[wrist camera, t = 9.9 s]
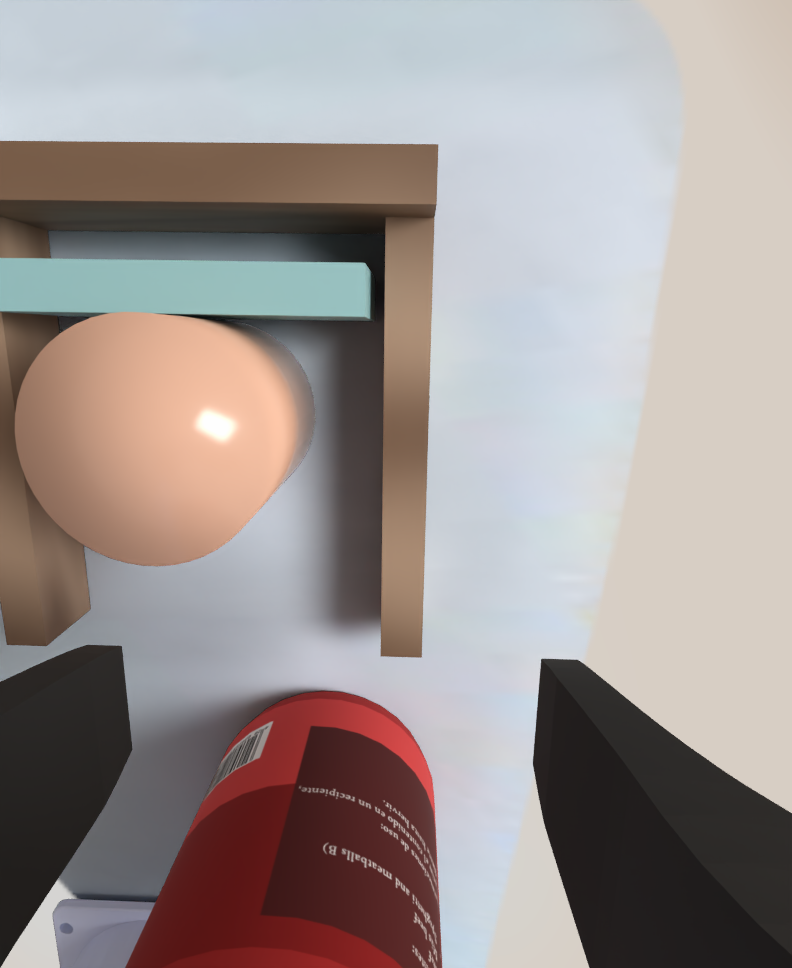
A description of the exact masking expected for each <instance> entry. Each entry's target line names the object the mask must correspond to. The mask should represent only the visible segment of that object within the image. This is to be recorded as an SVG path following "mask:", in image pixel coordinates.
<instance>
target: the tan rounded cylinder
mask: <svg viewBox="0 0 792 968" xmlns="http://www.w3.org/2000/svg"><path fill="white" fill-rule="evenodd" d="M314 428H315V402H314V396H313V392H312V389H311V385H310V383H309V380H308V378H307V375H306V374H305V372H304V370H303V368H302V366H301V365H300V363H299V362H298V361H297V359H296V358H295V356H294V355H293V354H292V353H291V352H290V351H289V350H288V349H287V348H286V347H285V346H284V345H283V344H282V343H281V342H279V341H278V340H277V339H276V338H274V337H273V336H271V335H270V334H268V333H266V332H265V331H263V330H260V329H258V328H256V327H254V326H251V325H247V324H244V323H240V322H234V321H226V320H216V319H206V318H195V317H185V316H175V315H164V314H154V313H144V312H117V313H107V314H103V315H99V316H95V317H91V318H89V319H86V320H84V321H81V322H79V323H77V324H75V325H73V326H71V327H70V328H68V329H66V330H65V331H63V332H61V333H60V334H59V335H58V336H56V337H55V338H54V339H53V340H52V341H50V342H49V343H48V344H47V345H46V346H45V348H44V349H43V350H42V351H41V352H40V353H39V354H38V355H37V357H36V359H35V360H34V362H33V363H32V365H31V366H30V368H29V369H28V372H27V374H26V376H25V378H24V380H23V382H22V385H21V389H20V392H19V395H18V399H17V405H16V412H15V439H16V447H17V452H18V456H19V460H20V464H21V467H22V470H23V472H24V475H25V477H26V480H27V482H28V484H29V486H30V488H31V490H32V492H33V493H34V495H35V497H36V498H37V500H38V501H39V503H40V504H41V506H42V507H43V509H44V510H45V511H46V512H47V513H48V515H49V516H50V517H51V518H52V519H53V520H54V521H55V523H57V524H58V525H59V526H60V527H61V528H62V529H63V530H64V531H65V532H66V533H67V534H69V535H70V536H71V537H73V538H74V539H76V540H77V541H78V542H80V543H81V544H83V545H85V546H86V547H88V548H90V549H92V550H93V551H95V552H97V553H100V554H102V555H104V556H107V557H109V558H112V559H115V560H119V561H122V562H125V563H130V564H136V565H143V566H167V565H176V564H180V563H185V562H189V561H192V560H195V559H198V558H201V557H203V556H205V555H207V554H209V553H211V552H213V551H215V550H217V549H218V548H220V547H221V546H223V545H224V544H225V543H227V542H228V541H230V540H231V539H232V538H233V537H234V536H235V535H236V534H237V533H238V532H239V531H240V530H241V529H242V528H243V527H244V526H245V525H246V524H247V523H248V521H249V520H250V519H251V518H252V517H253V516H254V515H255V514H256V513H257V512H258V511H259V509H260V508H261V507H262V506H263V505H264V504H265V503H266V502H267V501H268V500H269V498H270V497H271V496H272V495H273V494H274V493H275V492H276V491H277V490H278V489H279V488H280V486H281V485H282V484H283V483H284V482H285V481H286V480H287V479H288V478H289V477H290V475H291V474H292V473H293V472H294V471H295V470H296V469H297V467H298V466H299V465H300V464H301V462H302V460H303V459H304V457H305V455H306V454H307V451H308V449H309V447H310V444H311V441H312V437H313V434H314Z"/></svg>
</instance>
